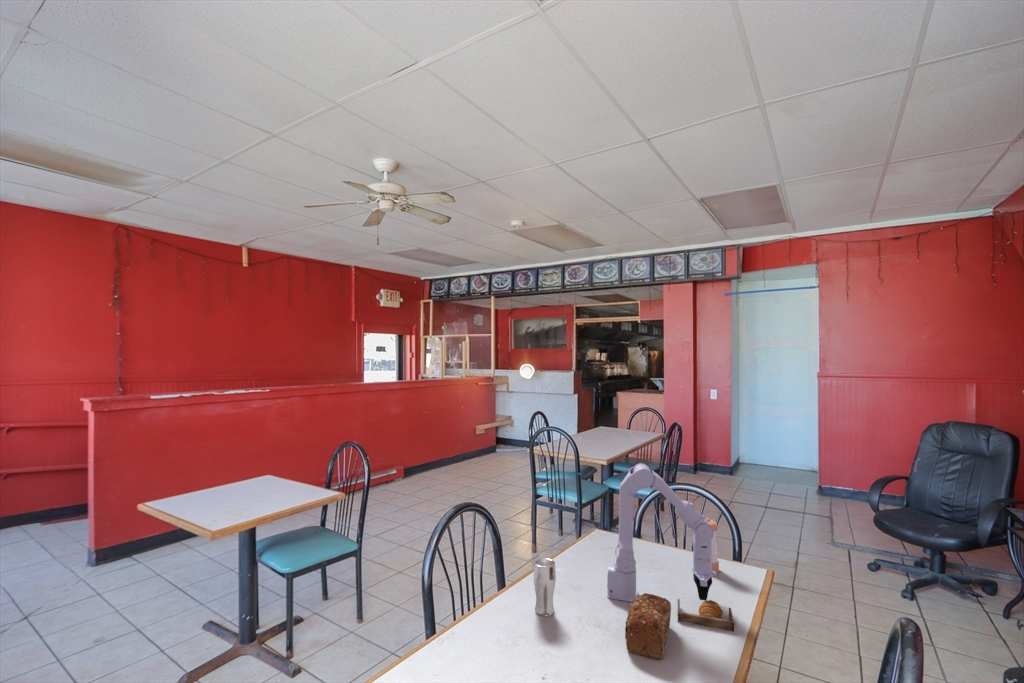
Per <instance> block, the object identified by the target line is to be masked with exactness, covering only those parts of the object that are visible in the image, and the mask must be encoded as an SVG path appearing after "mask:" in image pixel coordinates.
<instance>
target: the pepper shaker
mask: <svg viewBox="0 0 1024 683" xmlns="http://www.w3.org/2000/svg"><path fill="white" fill-rule="evenodd" d="M705 519H706V520H707V521H708V523H709V524H710V526H711V527H712V529H713V532H714V536H713V538H712V539H711V544H712V571H715V572H716V574H717V572H718V573H719V570H720V566H719V563H720V562H719V560H718V558H719V557H718V556H719V554H718V553H719V551H718V547H717V546H718V545H717V531H718V529H719V526H718V523H717V522H716V521H715V520H712V519H710V518H709V517H705Z"/></svg>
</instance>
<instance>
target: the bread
mask: <svg viewBox="0 0 1024 683" xmlns="http://www.w3.org/2000/svg"><path fill="white" fill-rule="evenodd" d="M627 613H628V614H627V618H626V620H625V629H624V630H625V631H624V632H625V636H624V638H625V640H626V641H625V644H626V650H627V651H628V652H631V653H632V654H634V655H638V656H643V657H646V658H650V659H653V660H656V661H657V660H658V661H659V660H662V659H663V658H664V652H665V648H666V646H667V640H668V638H669V637H668V635H669V630H670V625H671V624H670V623H671V617H672V616H671V613H672V605H671V602H670V600H668V599H667V598H666V597H662V596H660V595H655V594H651V593H642V594H641V595H638V596H637V597H636V598H635V599H634V601H633V602H631V604H630V608H629V609H628V611H627Z"/></svg>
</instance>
